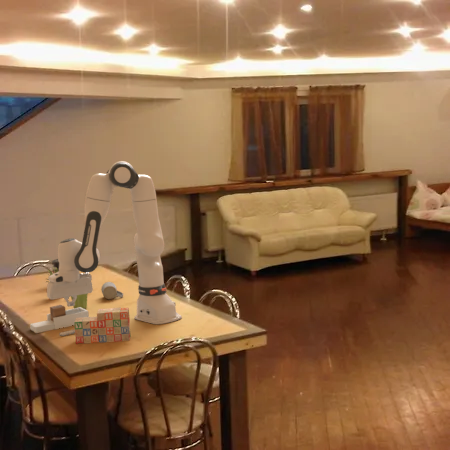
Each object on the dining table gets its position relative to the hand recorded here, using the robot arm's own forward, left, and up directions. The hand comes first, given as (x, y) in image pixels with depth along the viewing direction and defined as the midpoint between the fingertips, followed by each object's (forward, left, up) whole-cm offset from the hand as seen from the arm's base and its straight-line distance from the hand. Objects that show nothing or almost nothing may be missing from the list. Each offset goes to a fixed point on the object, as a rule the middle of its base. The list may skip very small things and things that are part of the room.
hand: (71, 305), depth 281 cm
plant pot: (+20, -12, -8) cm, 25 cm away
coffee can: (+76, -26, -8) cm, 81 cm away
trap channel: (0, +6, -8) cm, 10 cm away
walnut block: (0, +6, -5) cm, 8 cm away
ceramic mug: (+27, -33, -8) cm, 44 cm away
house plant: (+50, -14, -8) cm, 52 cm away
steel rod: (-15, +5, -7) cm, 17 cm away
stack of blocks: (-33, 0, -8) cm, 34 cm away
